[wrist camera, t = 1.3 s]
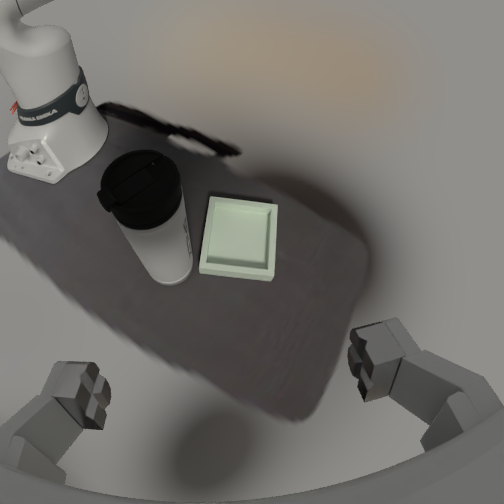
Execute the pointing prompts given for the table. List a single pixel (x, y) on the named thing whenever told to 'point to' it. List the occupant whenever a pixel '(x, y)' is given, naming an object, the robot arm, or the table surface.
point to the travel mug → (150, 212)
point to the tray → (239, 239)
